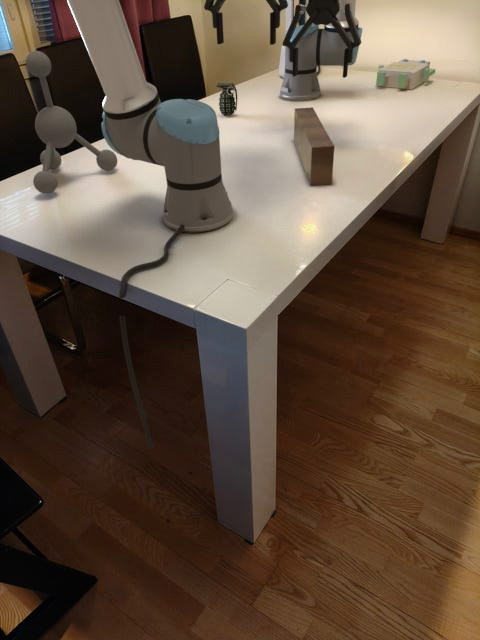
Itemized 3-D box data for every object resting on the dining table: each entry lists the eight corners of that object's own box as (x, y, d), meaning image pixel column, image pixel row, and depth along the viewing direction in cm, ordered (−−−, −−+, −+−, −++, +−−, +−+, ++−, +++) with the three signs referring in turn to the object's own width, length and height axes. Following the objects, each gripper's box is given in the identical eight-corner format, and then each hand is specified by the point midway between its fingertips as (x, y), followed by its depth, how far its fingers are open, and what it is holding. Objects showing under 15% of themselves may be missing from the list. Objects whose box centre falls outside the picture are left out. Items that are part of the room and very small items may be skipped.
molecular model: (127, 184, 124) (101, 51, 106) (38, 200, 118) (-6, 64, 100) (112, 155, 142) (87, 38, 123) (33, 169, 136) (-5, 48, 118)
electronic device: (284, 79, 208) (284, -5, 189) (278, 76, 213) (278, -6, 195) (311, 76, 210) (314, -7, 191) (304, 73, 216) (307, -8, 197)
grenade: (217, 117, 168) (214, 86, 162) (221, 112, 172) (219, 82, 166) (235, 117, 166) (233, 86, 160) (239, 113, 171) (238, 82, 165)
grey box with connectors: (392, 57, 203) (441, 60, 193) (390, 73, 207) (438, 78, 197) (367, 69, 187) (418, 73, 177) (365, 87, 191) (415, 92, 181)
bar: (331, 184, 118) (334, 146, 113) (310, 185, 118) (311, 147, 113) (311, 139, 145) (312, 107, 139) (293, 140, 145) (294, 108, 139)
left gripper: (302, -69, 107) (299, 41, 120) (198, -63, 114) (205, 41, 127) (295, -69, 102) (292, 46, 114) (185, -63, 108) (194, 45, 121)
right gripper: (378, -23, 118) (368, 74, 131) (279, -19, 125) (279, 72, 138) (374, -21, 112) (364, 80, 125) (270, -17, 120) (271, 77, 132)
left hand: (246, 43), depth 121 cm, fingers open, 13 cm apart
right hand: (319, 76), depth 131 cm, fingers open, 13 cm apart
